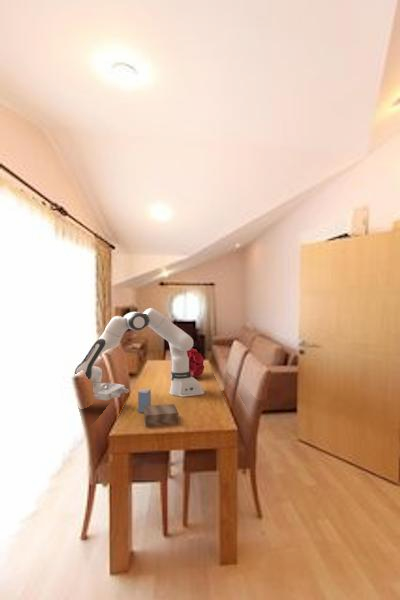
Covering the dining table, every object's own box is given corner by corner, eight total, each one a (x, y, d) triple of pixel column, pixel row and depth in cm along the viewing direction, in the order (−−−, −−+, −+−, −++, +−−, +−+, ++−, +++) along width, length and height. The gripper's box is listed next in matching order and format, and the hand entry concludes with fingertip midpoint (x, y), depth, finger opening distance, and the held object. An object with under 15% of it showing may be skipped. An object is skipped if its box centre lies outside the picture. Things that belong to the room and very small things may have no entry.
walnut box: (174, 415, 191) (174, 404, 191) (178, 424, 177) (178, 412, 177) (143, 417, 188) (143, 406, 187) (145, 427, 174) (145, 415, 174)
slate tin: (142, 409, 200) (142, 388, 199) (150, 410, 198) (150, 389, 198) (138, 412, 195) (137, 390, 195) (146, 413, 193) (146, 391, 193)
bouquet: (171, 383, 280) (177, 372, 254) (171, 354, 291) (177, 341, 266) (198, 384, 284) (207, 372, 259) (197, 355, 296) (205, 342, 270)
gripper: (91, 390, 194) (114, 392, 190) (111, 381, 213) (132, 383, 209) (91, 401, 194) (114, 404, 190) (111, 392, 214) (132, 394, 209)
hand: (123, 393), depth 200 cm, fingers open, 8 cm apart
